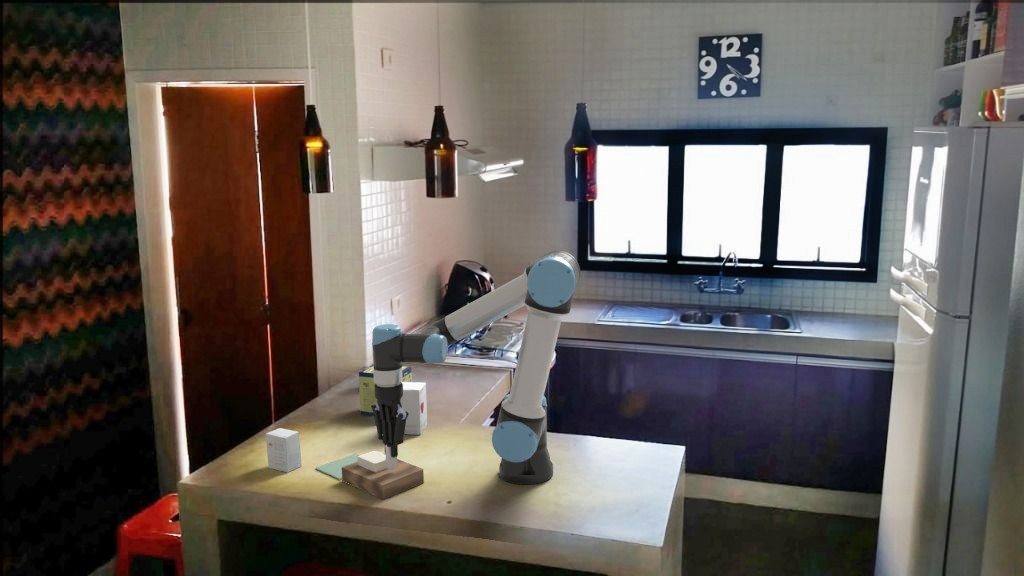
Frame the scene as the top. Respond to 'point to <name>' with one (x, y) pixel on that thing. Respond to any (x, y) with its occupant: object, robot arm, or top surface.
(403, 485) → the plate
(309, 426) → the top surface
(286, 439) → the small box
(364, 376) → the protein box
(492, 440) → the robot arm
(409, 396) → the supplement box
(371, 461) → the tile
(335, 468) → the mat
